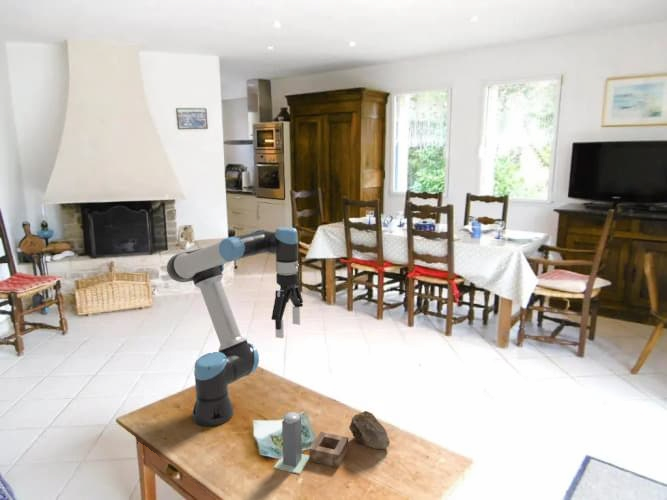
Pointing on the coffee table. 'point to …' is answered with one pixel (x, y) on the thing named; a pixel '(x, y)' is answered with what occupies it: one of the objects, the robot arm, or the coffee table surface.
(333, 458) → the brown square frame
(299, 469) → the mat
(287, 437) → the plug
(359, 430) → the rock
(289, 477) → the coffee table surface
